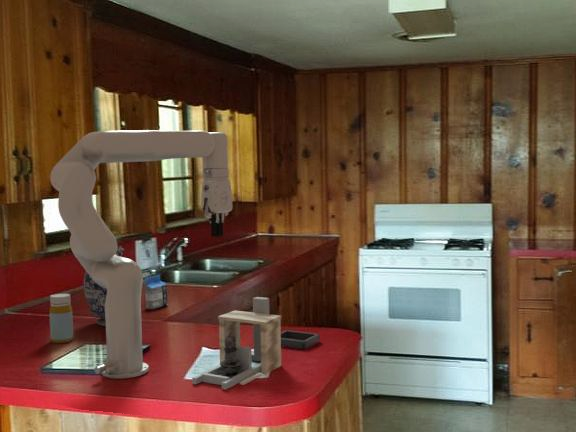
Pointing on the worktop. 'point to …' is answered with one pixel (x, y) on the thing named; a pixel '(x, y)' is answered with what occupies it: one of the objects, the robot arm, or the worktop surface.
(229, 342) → the dark grey upright piece
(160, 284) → the label tape box
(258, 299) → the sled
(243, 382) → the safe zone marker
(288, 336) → the dark grey flat tray
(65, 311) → the bottle
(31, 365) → the worktop surface
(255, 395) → the worktop surface
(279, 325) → the tunnel
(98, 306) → the decorative vase
